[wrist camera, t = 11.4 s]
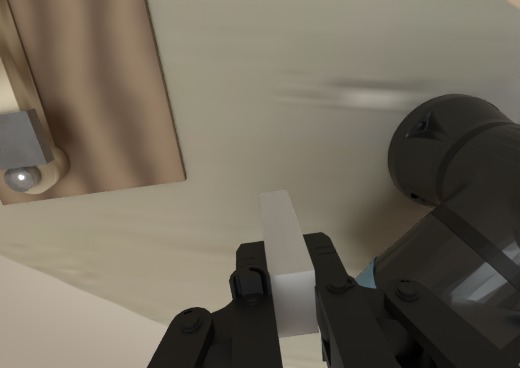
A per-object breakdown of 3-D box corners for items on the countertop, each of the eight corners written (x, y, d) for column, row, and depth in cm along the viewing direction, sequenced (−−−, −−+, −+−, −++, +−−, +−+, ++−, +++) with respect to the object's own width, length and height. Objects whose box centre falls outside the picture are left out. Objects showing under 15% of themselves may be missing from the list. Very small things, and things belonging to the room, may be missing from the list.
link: (74, 179, 41) (58, 191, 38) (34, 182, 41) (14, 196, 38) (-1, -53, 32) (-32, -66, 28) (-53, -49, 32) (-92, -62, 28)
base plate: (123, -102, 32) (120, -107, 31) (186, 177, 44) (185, 180, 43) (-121, -72, 32) (-132, -76, 31) (8, 201, 44) (3, 205, 43)
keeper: (61, 100, 38) (26, 110, 32) (77, 145, 40) (47, 163, 34) (-37, 113, 38) (-93, 126, 31) (-16, 157, 40) (-64, 178, 34)
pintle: (34, 161, 36) (26, 166, 34) (44, 184, 37) (36, 190, 35) (9, 164, 36) (-1, 169, 34) (19, 187, 37) (10, 193, 35)
